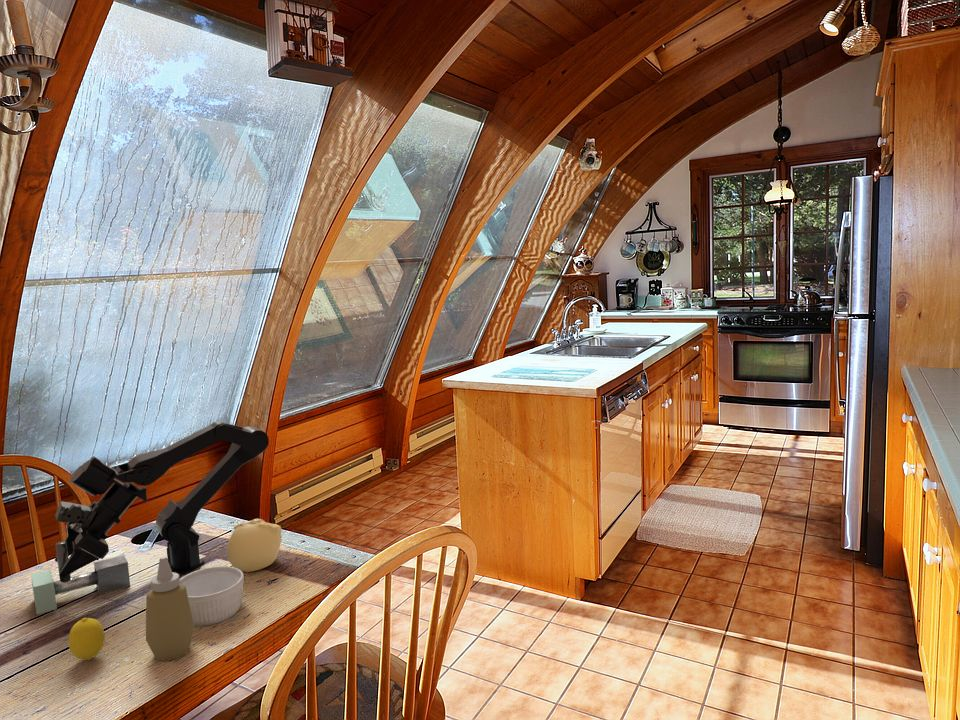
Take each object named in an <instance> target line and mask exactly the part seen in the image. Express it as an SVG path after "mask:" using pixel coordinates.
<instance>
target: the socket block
mask: <svg viewBox="0 0 960 720" xmlns="http://www.w3.org/2000/svg"><path fill="white" fill-rule="evenodd" d="M30 576H31V584H32V585H31V586H32V594H33V600H34V605H35V611H36V615H42V614H45V612H46V613H48V612H51V611H52V610H53V611H56V610H58V606H57V598H56V597H57V596H56V595H55V589H54V582H55V581H54V578H53V574H52V570H51V568H49V569H44V570H41V571H35V572H33V573H31V574H30ZM53 611H52V612H53Z"/></svg>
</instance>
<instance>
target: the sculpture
mask: <svg viewBox="0 0 960 720" xmlns="http://www.w3.org/2000/svg"><path fill="white" fill-rule="evenodd" d="M233 530H234V531H233V532H232V533H231V535H230V537H229V538H228V541H227V544H226V557H227V559H228V562H229V563H230V564H231V565H230V566H231V567H235V568H237V569H239V570H241V571H242V572H244V573H245V572H247V573H248V572H255V571H259V570H262V569H265V568H266V567H268V566H270V565H272V564H273V563H274V562H275V561H276V560H277V557H278V555H279V551H280V547H281V544H282V541H283V539H282V538H283V536H282V527H281V525H279V524H276V523H271V522H267V521H265V520H264V519H261V518H254V519H252V520H249V521H246V522H240V523H238V524H235V525H234V526H233Z"/></svg>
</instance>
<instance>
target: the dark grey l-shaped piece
mask: <svg viewBox="0 0 960 720" xmlns="http://www.w3.org/2000/svg"><path fill="white" fill-rule="evenodd" d="M55 552H56V556H57V561H58V562H57V568H58V574H59V573H60V572H61V570H62V568H63V567H64V565H65V564H66V562H67V560H68V559H69V556H68V550H67V542H66V541H65V540H62V541H58V542H55ZM58 576H59V575H58ZM96 584H98V578H97V572H96V571H95V570H94V571H91V572H87V573H84V574H83V573H82V574H78V575H76V576H75V575H74V576H72V575H71V574H69V575H67V576H66V577H61V576H59V579H58V580H55V581H54V589H55V596H58V595H60V594H65V593H69V592H73V591H76V590H80V589H84V588H87V587H92V586H95V585H96Z"/></svg>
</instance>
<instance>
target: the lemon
mask: <svg viewBox="0 0 960 720" xmlns="http://www.w3.org/2000/svg"><path fill="white" fill-rule="evenodd" d="M105 639H106V638H105V631H104V628H103V626H102V623H101V622H100V621H99V620H97V619H96V618H93V617H92V618H91V617H88V618H87V617H83V618H81V619H80V620H78V621H77V622H76V623H75V624H73V626H72V627H71V629H70V631H69V635H68V647H69V648H68V649H69V650H70V652H71V654H72V656H74V657H75V658H76V659H80V660H87V661H90V660H92V658H93V657H95V656H96V655H98V654H99V653H100V651H101V650H102V648H103V646H104V643H105Z"/></svg>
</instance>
